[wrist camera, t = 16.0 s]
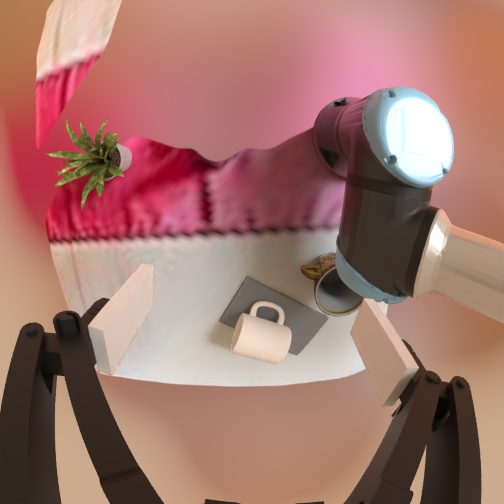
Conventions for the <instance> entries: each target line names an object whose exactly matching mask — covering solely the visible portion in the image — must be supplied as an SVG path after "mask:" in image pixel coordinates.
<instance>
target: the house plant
mask: <svg viewBox="0 0 504 504" xmlns="http://www.w3.org/2000/svg"><path fill="white" fill-rule="evenodd" d="M107 120H108V119H107ZM107 120H106V121H105V122H104V123H103V124H102V125H101V127H100V128H99V130H98V132H97V134H96V138H95V142H96V144H95V143H94V141H92V139H91V138H90V136H89V134H88V133H87V132H86V130H85V128H84V125H83V124H82V122H80V126H81V131H82V134H81V136H80V140H79V139H78V137H77V136H76V134H75V133H74V132H73V131H72V129H71V128H70V126H69V123H68V122H67V120H66V126H67V130H68V133H69V135H70V137H71V139H72V141H73V142H74V144H75V145H76V146H77V147H79V148H81V149H82V150H83V151H85V152H86V153H88V154H82V153H76V152H68V151H61V152H57V153H48V154H47V155H49V156H52V157H58V158H68V159H73V160H72V161H63V162H64V163H66V164H69V165H68V166H67V167H65V168H64V169H63V170H62V171H61V172H60V171H55V172H57V173H59V175H60V174H62V175H64V177H63V178H62V179H61V180H60V181H59V182H57V184H56V185H55V187H58V186H60V185H63V184H65V183H67V182H69V181H72V180H74V179H76V178H79V177H84V176H86V175H89V174H90V173H92V174H93V175H92V177H91V178H90V179H89V180H88V182H87V183H86V185H85V187H84V189H83V191H82V201H81V206H82V209H83V206H84V203H85V201H86V198H87V195H88V194H89V192H90V191H91V190H93V189H94V188H95V187H96V189H97V193H98V195H99V197H100V195H101V194H102V192H103V189H104V181H107V180H110V179H112V178H114V177H116V176H123V173H122V172H124V171H126V170H127V169H128V168H129V167H130V165H131V161H132V154H131V151H130V150H129V149H128V148H127V147H125V146H123V145H120V144H117V142H118V139H119V137H118V138H115V136H116V134H117V133H111V132H110V133H107V134H106V135H105V136H104V139H103V141H102V142H100V140H101V136H102V131H103V128H104V127H105V125H106V123H107ZM87 141H88V142H87ZM88 143H89V144H91V145H92V146H93V147H94V148H92V147H91V146H90V145H89V144H88ZM84 165H85V166H84ZM76 167H78V168H77V169H75V170H71V171H70V172H68V173H64V172H65V171H67V170H68V169H70V168H76ZM123 177H124V176H123ZM95 181H96V182H95Z"/></svg>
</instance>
